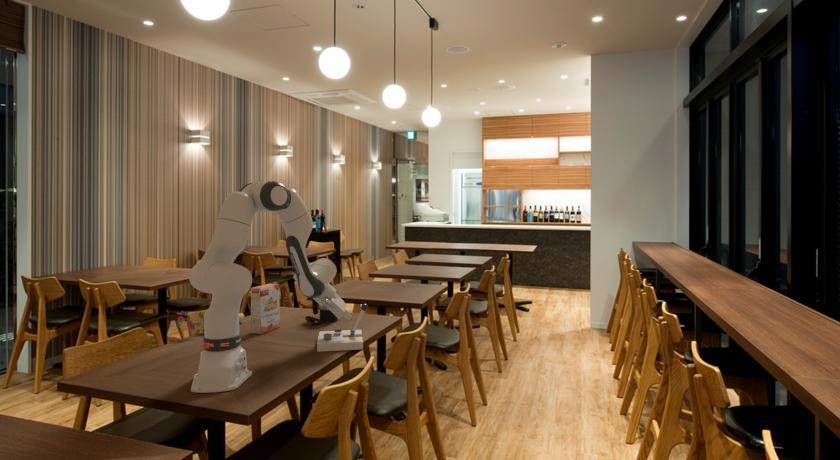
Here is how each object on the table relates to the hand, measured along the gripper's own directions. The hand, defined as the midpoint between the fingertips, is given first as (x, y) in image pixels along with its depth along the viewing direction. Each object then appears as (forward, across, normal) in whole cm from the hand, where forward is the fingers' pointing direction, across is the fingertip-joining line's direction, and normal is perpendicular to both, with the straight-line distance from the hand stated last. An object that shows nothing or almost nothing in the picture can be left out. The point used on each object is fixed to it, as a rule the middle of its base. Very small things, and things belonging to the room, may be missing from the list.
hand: (350, 318), depth 216 cm
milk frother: (-2, +41, +17) cm, 44 cm away
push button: (-2, -4, +12) cm, 12 cm away
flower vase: (-36, +32, +52) cm, 71 cm away
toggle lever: (+5, 0, +4) cm, 6 cm away
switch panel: (+4, 0, +10) cm, 11 cm away
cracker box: (-20, +28, +35) cm, 49 cm away
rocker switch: (+1, +4, +8) cm, 10 cm away
